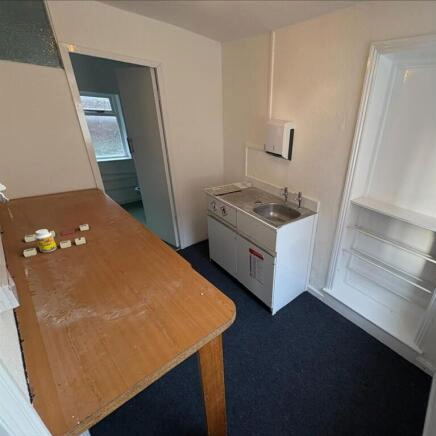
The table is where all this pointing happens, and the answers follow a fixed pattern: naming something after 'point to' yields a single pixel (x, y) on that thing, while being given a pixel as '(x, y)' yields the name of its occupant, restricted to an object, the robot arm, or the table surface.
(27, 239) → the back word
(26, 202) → the table surface
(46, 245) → the supplement bottle
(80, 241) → the front word
